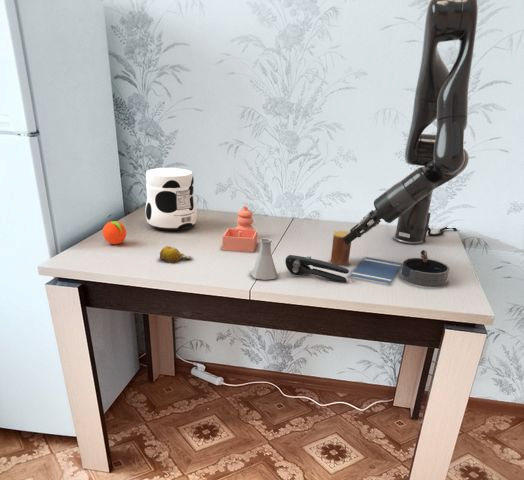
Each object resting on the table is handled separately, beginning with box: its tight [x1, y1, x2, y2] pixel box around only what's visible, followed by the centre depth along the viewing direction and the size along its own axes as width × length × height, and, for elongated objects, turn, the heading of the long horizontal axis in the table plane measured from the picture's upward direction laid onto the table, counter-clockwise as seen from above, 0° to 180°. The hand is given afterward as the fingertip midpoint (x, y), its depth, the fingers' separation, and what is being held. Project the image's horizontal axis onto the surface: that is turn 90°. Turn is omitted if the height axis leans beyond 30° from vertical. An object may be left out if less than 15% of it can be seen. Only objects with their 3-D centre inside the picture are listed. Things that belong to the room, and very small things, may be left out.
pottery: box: [222, 205, 258, 253], centre depth 159 cm, size 18×10×10 cm, turn 173°
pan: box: [400, 257, 451, 288], centre depth 138 cm, size 12×12×4 cm
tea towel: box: [349, 256, 403, 285], centre depth 143 cm, size 18×11×1 cm, turn 155°
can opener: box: [285, 254, 350, 283], centre depth 136 cm, size 18×7×6 cm, turn 69°
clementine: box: [102, 220, 127, 245], centre depth 153 cm, size 8×7×7 cm
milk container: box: [144, 167, 198, 231], centre depth 169 cm, size 17×17×18 cm
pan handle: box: [420, 249, 429, 265], centre depth 146 cm, size 10×2×2 cm, turn 166°
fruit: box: [159, 245, 191, 263], centre depth 144 cm, size 8×8×4 cm
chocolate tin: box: [330, 230, 352, 267], centre depth 145 cm, size 5×5×9 cm
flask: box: [250, 237, 278, 281], centre depth 134 cm, size 7×7×10 cm
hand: (348, 237), depth 143 cm, fingers open, 8 cm apart
